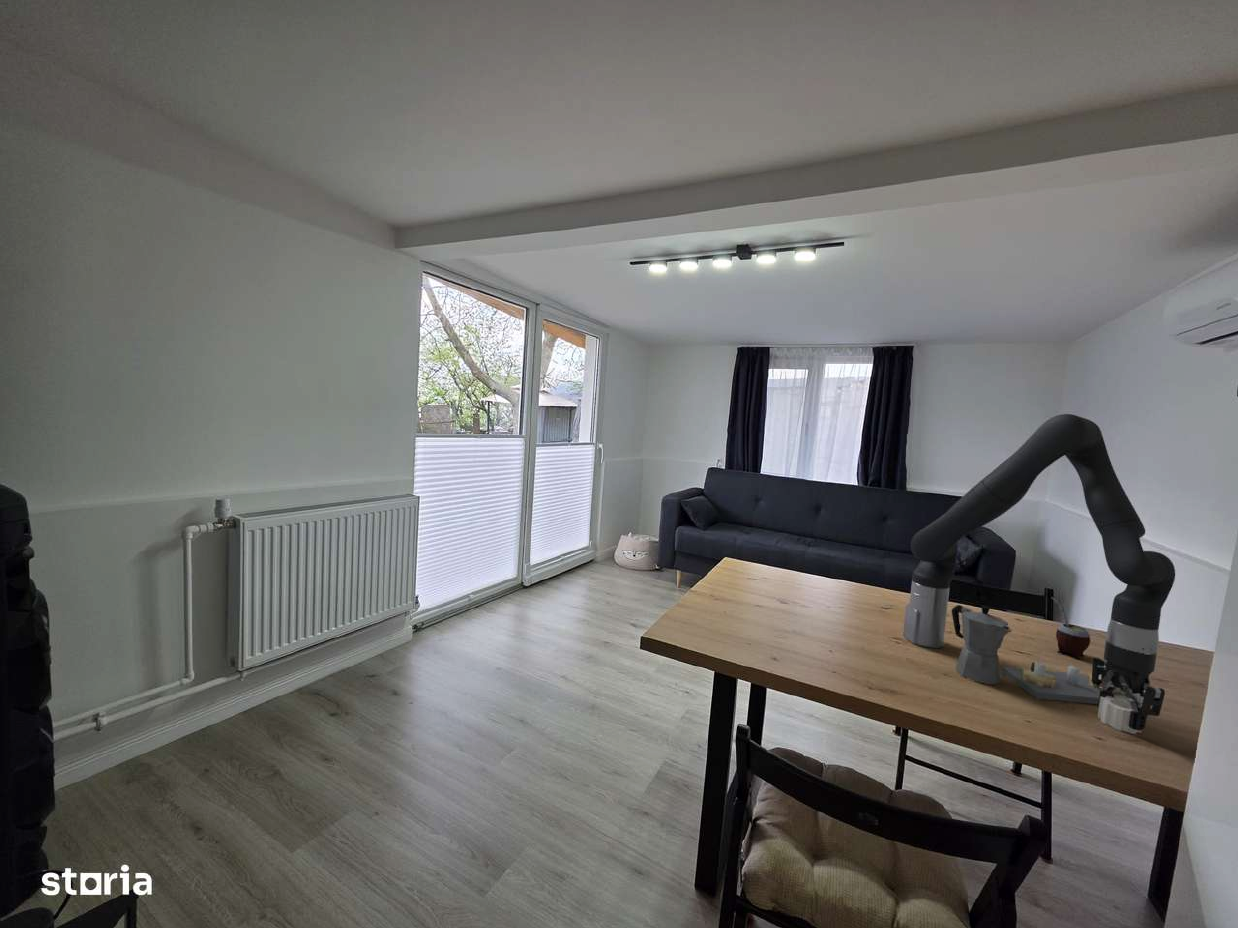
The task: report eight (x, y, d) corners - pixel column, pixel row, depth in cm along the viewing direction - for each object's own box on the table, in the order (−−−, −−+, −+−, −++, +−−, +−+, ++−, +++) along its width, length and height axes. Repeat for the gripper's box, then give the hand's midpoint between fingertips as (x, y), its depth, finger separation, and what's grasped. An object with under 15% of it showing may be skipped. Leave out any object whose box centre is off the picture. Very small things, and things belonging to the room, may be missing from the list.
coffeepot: (1018, 688, 119) (1027, 616, 117) (987, 691, 117) (996, 617, 115) (961, 657, 134) (968, 593, 132) (932, 659, 132) (939, 594, 130)
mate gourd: (1094, 662, 135) (1101, 609, 134) (1061, 657, 137) (1068, 605, 136) (1075, 650, 143) (1081, 599, 141) (1043, 646, 144) (1050, 596, 143)
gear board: (1036, 698, 115) (1039, 675, 114) (1001, 672, 126) (1004, 651, 126) (1148, 708, 112) (1152, 685, 112) (1102, 681, 124) (1105, 660, 124)
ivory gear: (1116, 731, 103) (1119, 711, 102) (1089, 713, 109) (1092, 694, 109) (1150, 735, 102) (1154, 714, 102) (1121, 716, 109) (1124, 697, 108)
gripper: (1083, 628, 112) (1073, 698, 113) (1144, 658, 97) (1132, 738, 99) (1119, 631, 111) (1109, 701, 112) (1186, 661, 97) (1173, 742, 98)
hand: (1120, 718), depth 105 cm, fingers closed on ivory gear, 6 cm apart
